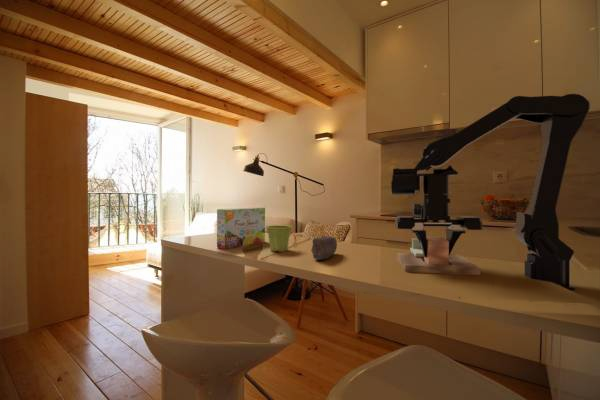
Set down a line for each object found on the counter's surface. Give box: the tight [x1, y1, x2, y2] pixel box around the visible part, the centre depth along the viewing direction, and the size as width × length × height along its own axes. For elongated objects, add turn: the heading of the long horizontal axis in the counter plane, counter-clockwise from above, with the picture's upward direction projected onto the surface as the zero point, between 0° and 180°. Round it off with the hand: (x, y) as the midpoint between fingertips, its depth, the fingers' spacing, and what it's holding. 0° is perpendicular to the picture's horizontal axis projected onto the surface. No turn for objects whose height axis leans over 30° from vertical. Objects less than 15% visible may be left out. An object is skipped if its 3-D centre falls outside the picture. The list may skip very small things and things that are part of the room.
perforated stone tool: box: [310, 235, 338, 261], centre depth 90 cm, size 15×5×7 cm, turn 149°
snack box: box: [216, 206, 266, 250], centre depth 115 cm, size 21×6×15 cm, turn 143°
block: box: [424, 237, 449, 265], centre depth 70 cm, size 4×4×7 cm
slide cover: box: [409, 238, 424, 257], centre depth 78 cm, size 8×8×4 cm
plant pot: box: [265, 224, 293, 252], centre depth 102 cm, size 9×9×9 cm
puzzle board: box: [396, 252, 481, 276], centre depth 72 cm, size 16×14×3 cm
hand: (436, 257), depth 70 cm, fingers closed on block, 4 cm apart
